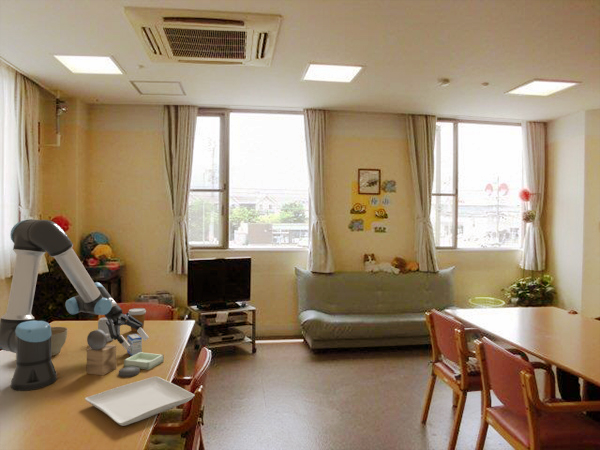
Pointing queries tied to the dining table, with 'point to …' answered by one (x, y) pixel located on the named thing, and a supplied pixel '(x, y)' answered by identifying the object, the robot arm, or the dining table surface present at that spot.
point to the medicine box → (134, 344)
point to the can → (104, 327)
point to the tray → (144, 360)
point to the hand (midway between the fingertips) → (137, 343)
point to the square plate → (139, 400)
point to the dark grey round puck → (129, 371)
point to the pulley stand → (100, 353)
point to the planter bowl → (58, 339)
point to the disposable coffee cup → (137, 316)
